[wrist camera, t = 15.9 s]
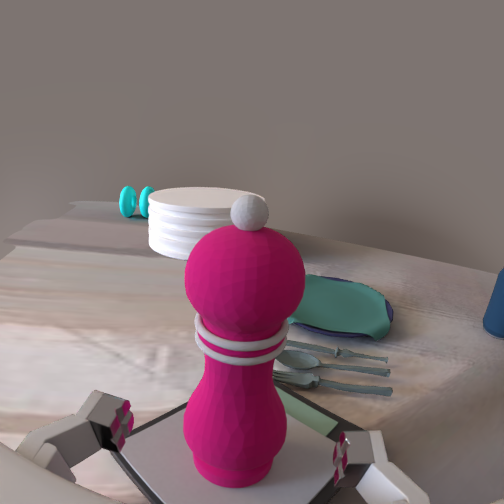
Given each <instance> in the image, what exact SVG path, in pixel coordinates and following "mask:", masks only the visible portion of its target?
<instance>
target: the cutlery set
mask: <svg viewBox="0 0 504 504" xmlns="http://www.w3.org/2000/svg"><path fill="white" fill-rule="evenodd" d="M287 320H288V323H289V324H291V323H295V324H297V325H299V326H301V327H303V328H305V329H307V330H310V331H313V332H317V333H321V334H325V335H328V336H336V337H349V338H354V337H362V336H371V337H373V338H374V339H375V341H377V340H379V339H381V338H383V337H384V336H385V335H386V334H387V333H388V331H389V329H390V323H391V322H392V320H393V309H392V307H391V306H390V304H389V302H388V301H387V300H386V299H385V298H384V295H382V294H381V293H380V292H377V291H376V290H373V289H372V288H370V287H369V286H367V285H364V284H362V283H356V282H352V281H348V280H343V279H339V278H332V277H323V276H316V275H311V274H308V275H305V290H304V294H303V298H302V300H301V302H300V304H299V305H298V307H297V309H296V310H295V312H294V313H293V314H292V315H291V316H290V317H288V318H287ZM286 345H287V346H292V347H297V348H302V349H307V350H313V351H318V352H324V353H330V354H335V358H336V357H337V356H340V355H342V356H343V357H344V358H345V357H353V356H355V357H361V358H369V359H375V360H380V361H385V362H386V364H387V362H388V357H386V358H383V357H373V356H368V355H364V354H358V353H354V352H351V351H349V350H347V349H344V350H340V349H338V347H337V348H336V350H334V349H330V348H326V347H322V346H318V345H312V344H307V343H302V342H296V341H291V340H287V343H286ZM275 359H277V360H278V361H279V362H281V363H282V364H283V365H285V366H288V367H291V368H294V369H300V370H308V369H312V368H315V367H324V368H333V369H339V370H348V371H356V372H362V373H368V374H375V375H380V376H385V377H389V376H390V369H382V368H371V367H361V366H349V365H336V364H322V363H321V362H320V360H318V359H317V358H315V357H314V356H312V355H310V354H307V353H303V352H300V351H291V350H283V351H282V352H281V353H280V354H279V355H278V356H277V357H275ZM274 373H275V374H274ZM272 376H274V377H272V378H273V379H274V380H275V381H279V382H284V383H288V384H291V385H295V386H298V387H302V388H307V389H308V388H311V387H317V386H318V385H321V386H326V387H330V388H334V389H337V390H342V391H348V392H356V393H366V394H377V395H384V396H391V394H392V392H393V390H392V388H390V387H378V386H361V385H350V384H342V383H338V382H334V381H329V380H324V379H320V376H315V377H314V376H313V375H312V373H308V374H303V373H294V372H283V371H276V370H273V375H272ZM277 377H278V378H277Z"/></svg>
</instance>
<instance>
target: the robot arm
mask: <svg viewBox="0 0 504 504" xmlns="http://www.w3.org/2000/svg"><path fill="white" fill-rule="evenodd" d="M130 407H131V405H130V402H129V401H128V400H125V399H122V398H119V397H116V396H113V395H110V394H107V393H104V392H100V391H97V390H94V391H93V392H92V393H91V394H90V395H89V397H88V398H87V400H86V401H85V402H84V404H83V405H82V407H81V408H80V409H79V411H78V412H77V414H76V415H74V414H72V415H69V416H67V417H65V418H62V419H60V420H58V421H55V422H53V423H50V424H48V425H46V426H43V427H41V428H38V429H36V430H33V431H31V432H29V433H28V435H27V436H26V437H25V438H24V440H23V441H22V442H21V444H20V445H19V447H18V448H17V449H16V451H14V450H12V449H11V448H9V447H8V446H6V445H4V444H3V443H1V442H0V504H126V503H123V502H120V501H117V500H114V499H112V498H109V497H106V496H104V495H101V494H99V493H96V492H94V491H91V490H89V489H87V488H84V487H82V486H80V485H78V484H75V482H76V478H75V476H74V474H73V473H72V471H71V470H70V468H71V467H73V466H75V465H76V464H78V463H80V462H81V461H83V460H85V459H86V458H88V457H89V456H91V455H93V454H94V453H96V452H97V451H99V450H100V449H101V448H103V449H106V450H109V451H113V452H116V453H119V454H120V452H121V450H122V448H123V446H124V445H125V443H126V441H125V438H124V437H125V436H127V435H129V434H130V433H131V431H132V428H133V424H134V417H133V413H132V412H131V411H130V410H129V409H130ZM339 440H340V441H339V442H337V443H336V445H335V447H334V451H333V465H334V466H335V467H336V470H335V472H334V486H335V487H356V489H357V491H358V492H359V493H360V494H361V496H362V497H363V498H364V500H365V501H366V502H367V503H368V504H431V503H430V499H429V495H428V494H427V493H426V492H425V491H424V490H422V489H421V488H420V487H419V486H418V485H417V484H416V483H415V482H413V481H412V480H411V479H410V478H409V477H408V476H407V475H406V474H405V473H403V472H402V471H401V470H400V469H399V468H398V467H397V466H396V465H395V464H394V463H393V462H388V457H387V453H386V448H385V444H384V440H383V436H382V432H381V431H380V430H368V431H367V430H356V431H342V432H341V433H340V436H339ZM489 504H504V498H503V499H500V500H497V501H494V502H492V503H489Z"/></svg>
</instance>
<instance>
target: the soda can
mask: <svg viewBox="0 0 504 504" xmlns="http://www.w3.org/2000/svg"><path fill="white" fill-rule="evenodd" d="M483 327H484V330H485V332H486V333H488V334H489V335H490V336H492V337H494V338H497V339H504V268H503V269H502V271H500V273H499V274H498V278H497V281H496V284H495V287H494V290H493V293H492V296H491V299H490V302H489V304H488V307H487V310H486V313H485V315H484V318H483Z"/></svg>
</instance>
